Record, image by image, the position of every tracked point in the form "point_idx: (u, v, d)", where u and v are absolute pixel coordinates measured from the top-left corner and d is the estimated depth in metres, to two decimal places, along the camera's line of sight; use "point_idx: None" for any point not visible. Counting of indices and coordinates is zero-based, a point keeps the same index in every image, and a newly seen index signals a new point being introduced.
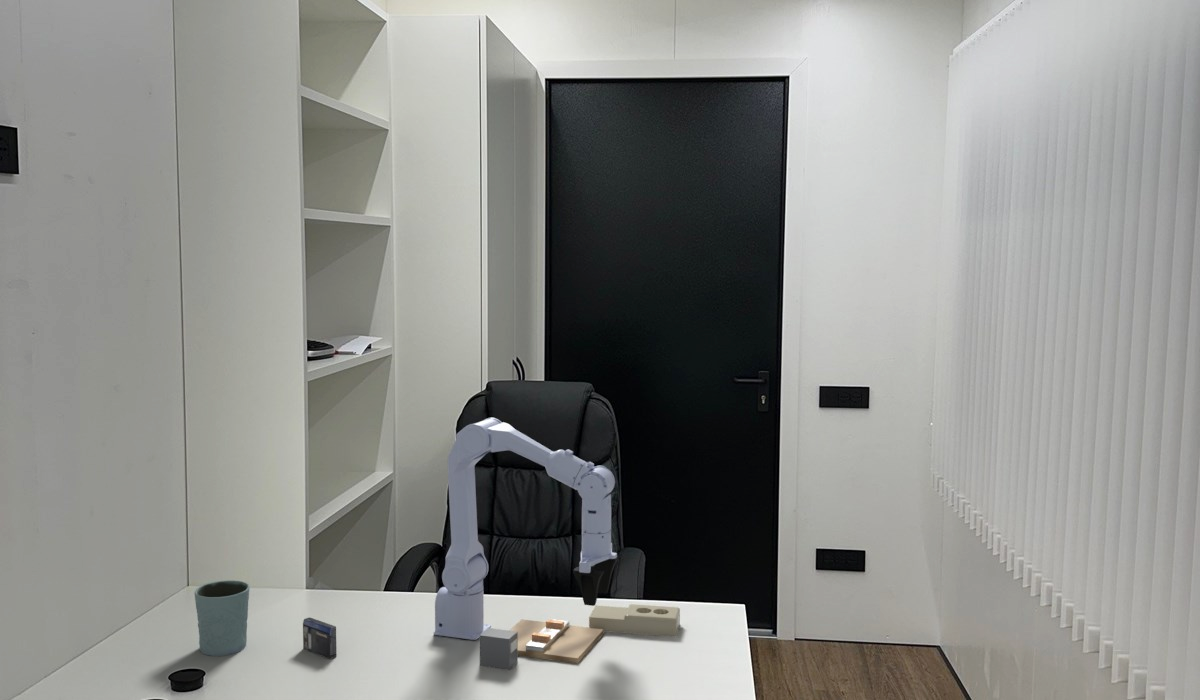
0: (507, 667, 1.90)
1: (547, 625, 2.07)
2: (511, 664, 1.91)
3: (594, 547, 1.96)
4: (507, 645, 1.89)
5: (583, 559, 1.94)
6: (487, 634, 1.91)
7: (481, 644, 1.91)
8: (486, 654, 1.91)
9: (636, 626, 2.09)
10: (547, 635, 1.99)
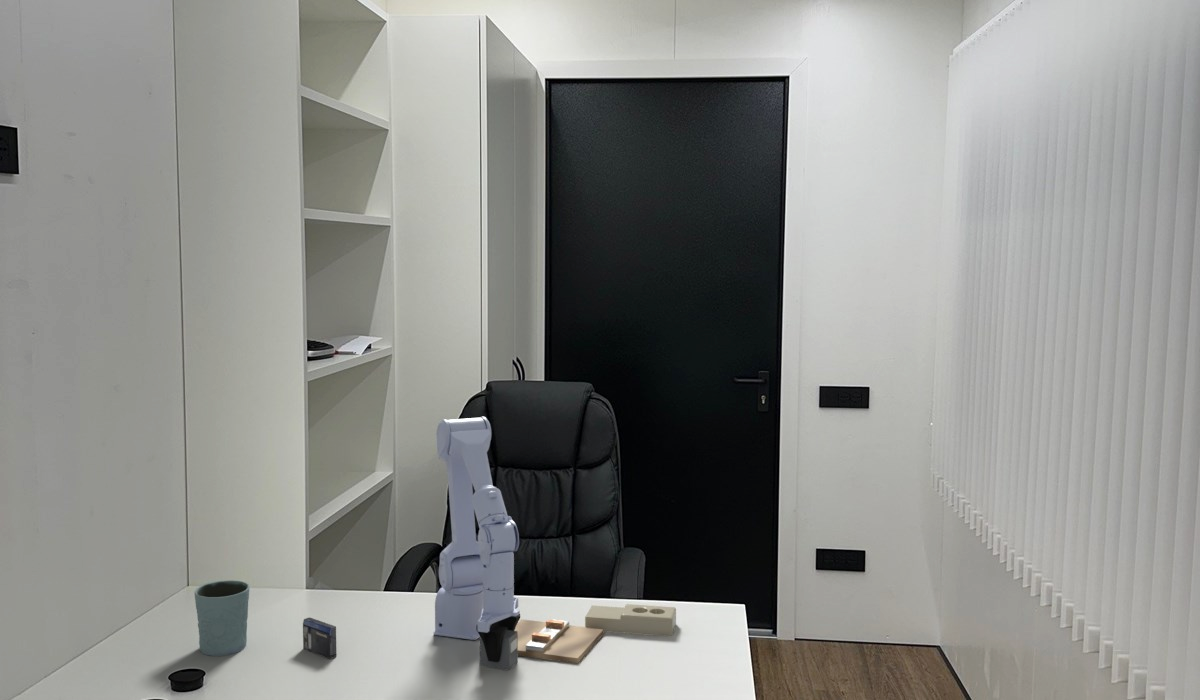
0: (507, 667, 1.90)
1: (547, 625, 2.07)
2: (511, 664, 1.91)
3: (495, 605, 1.89)
4: (507, 645, 1.89)
5: (483, 617, 1.87)
6: None
7: (481, 644, 1.91)
8: None
9: (632, 625, 2.09)
10: (547, 635, 1.99)
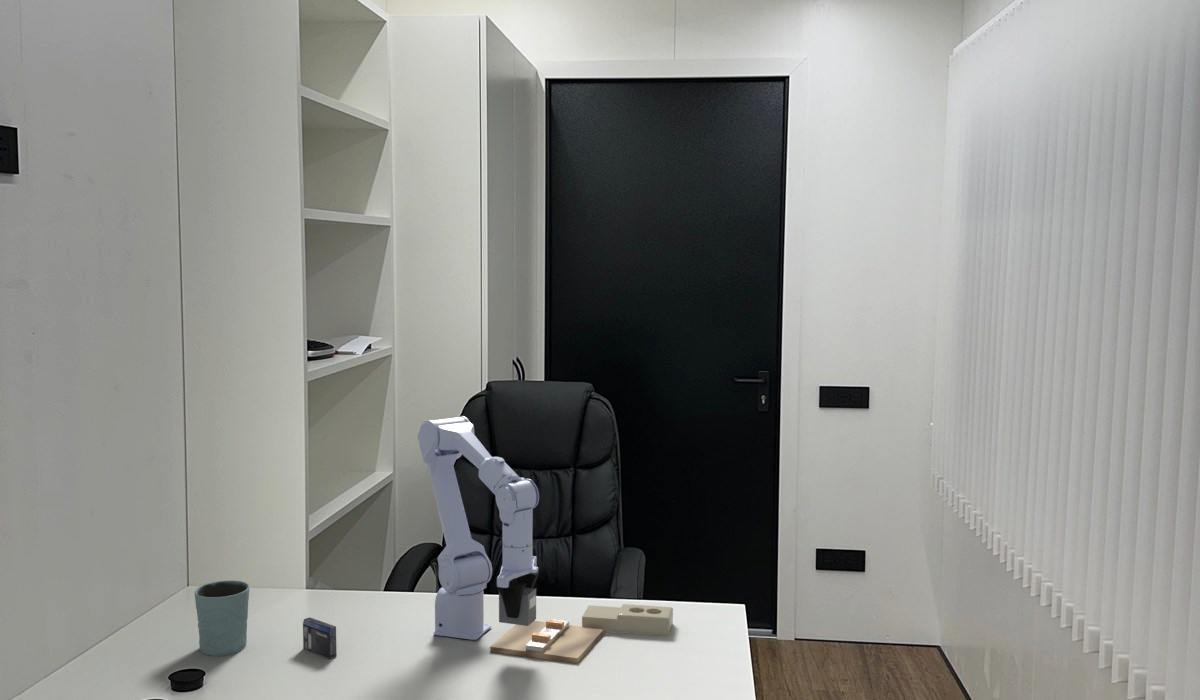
0: (526, 623, 1.93)
1: (547, 625, 2.07)
2: (530, 620, 1.94)
3: (514, 561, 1.92)
4: (526, 601, 1.93)
5: (502, 573, 1.91)
6: None
7: (500, 600, 1.95)
8: (505, 611, 1.94)
9: (629, 625, 2.09)
10: (547, 635, 1.99)
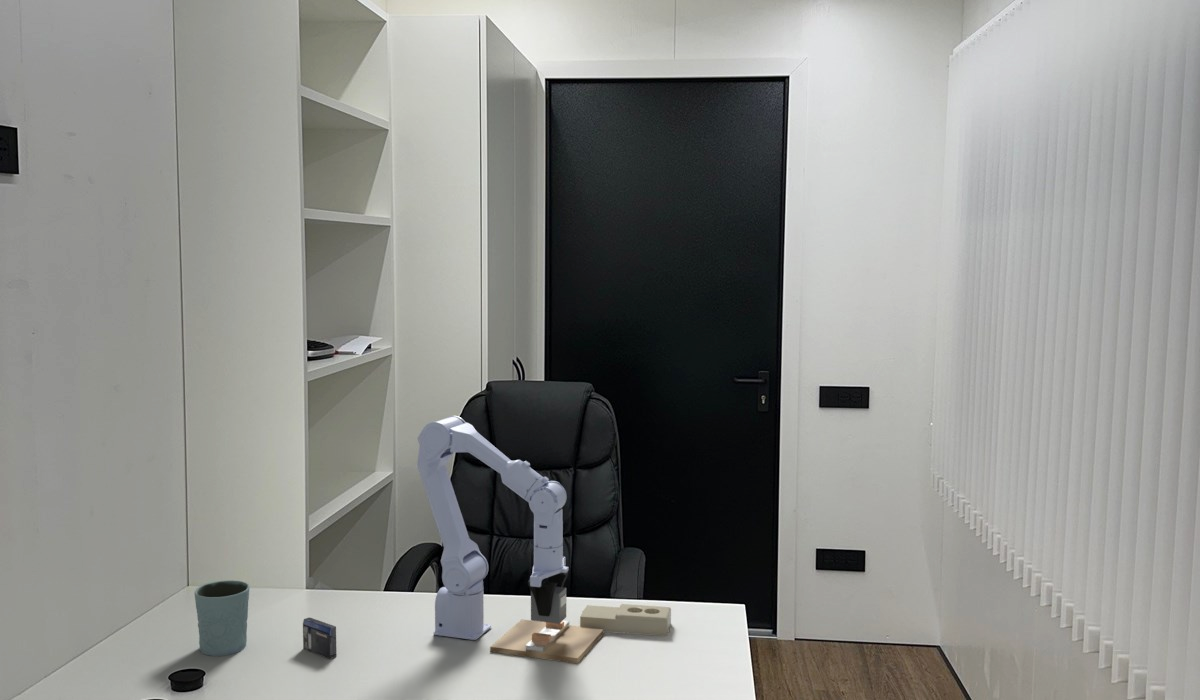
0: (557, 621, 2.00)
1: (547, 625, 2.07)
2: (561, 618, 2.01)
3: (545, 562, 1.99)
4: (557, 600, 2.00)
5: (534, 573, 1.98)
6: None
7: (532, 599, 2.01)
8: None
9: (627, 625, 2.09)
10: (547, 635, 1.99)
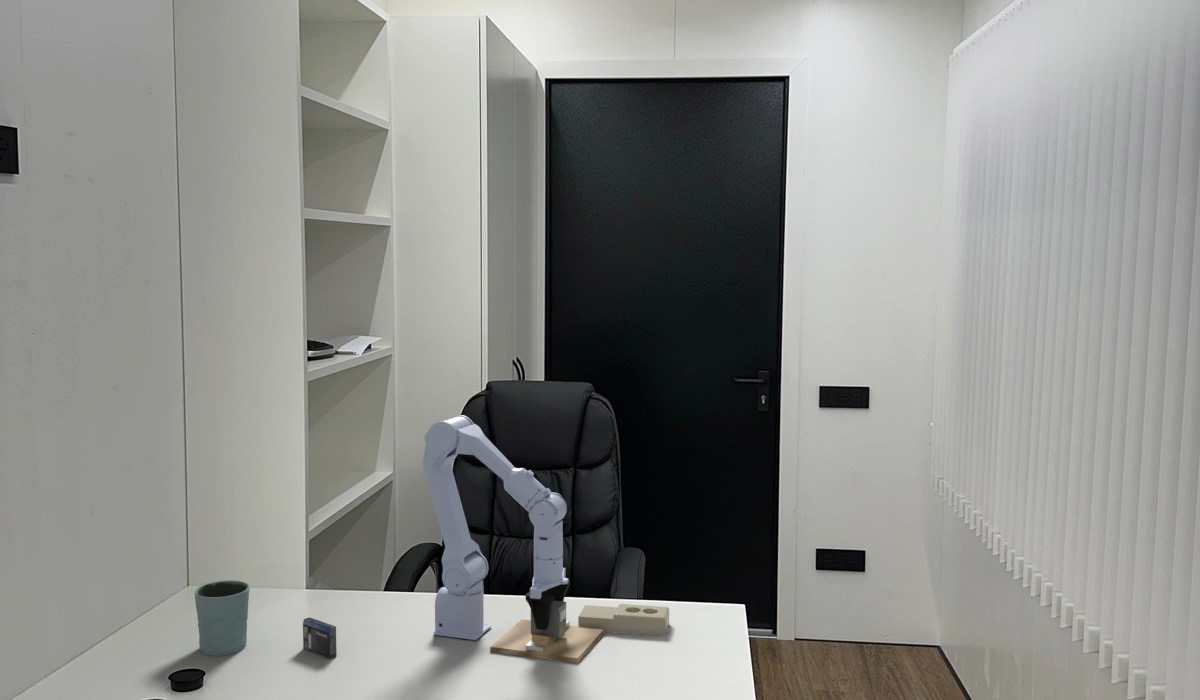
0: (557, 635, 2.00)
1: None
2: (561, 632, 2.01)
3: (545, 573, 1.99)
4: (557, 615, 2.00)
5: (534, 585, 1.98)
6: None
7: (532, 613, 2.02)
8: None
9: (625, 625, 2.09)
10: (547, 635, 1.99)
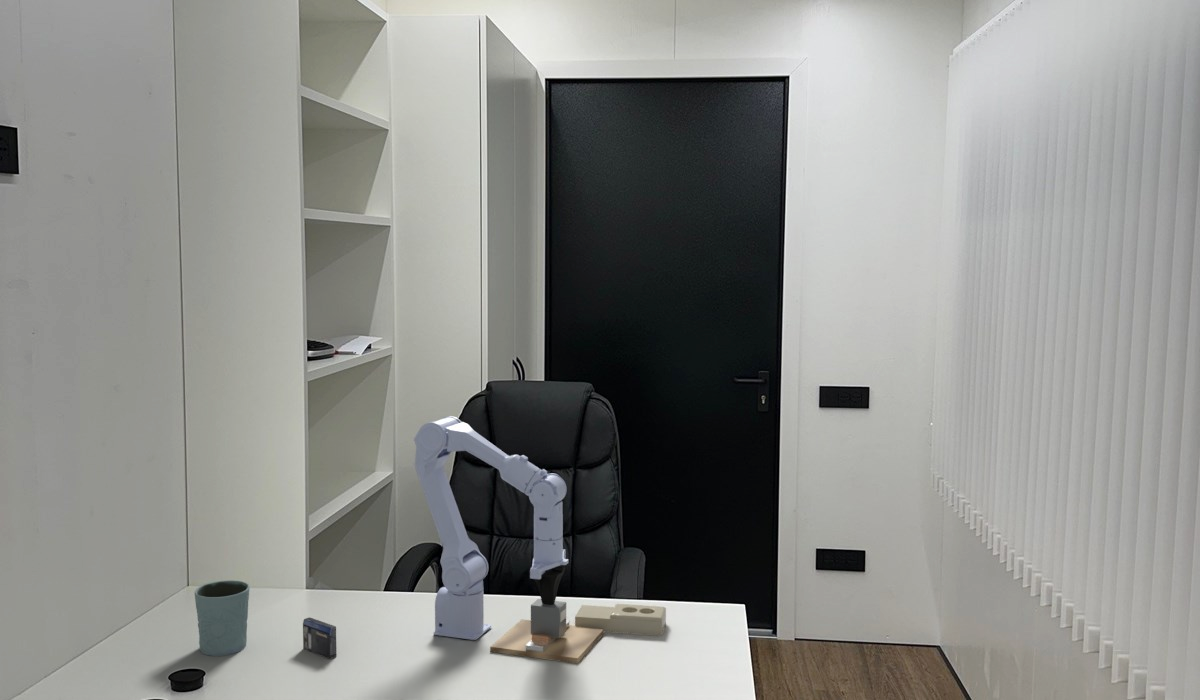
0: (557, 635, 2.00)
1: None
2: (561, 632, 2.01)
3: (546, 554, 1.99)
4: (557, 615, 2.00)
5: (534, 565, 1.98)
6: (538, 604, 2.02)
7: (532, 613, 2.02)
8: (537, 623, 2.02)
9: (622, 625, 2.09)
10: (547, 635, 1.99)
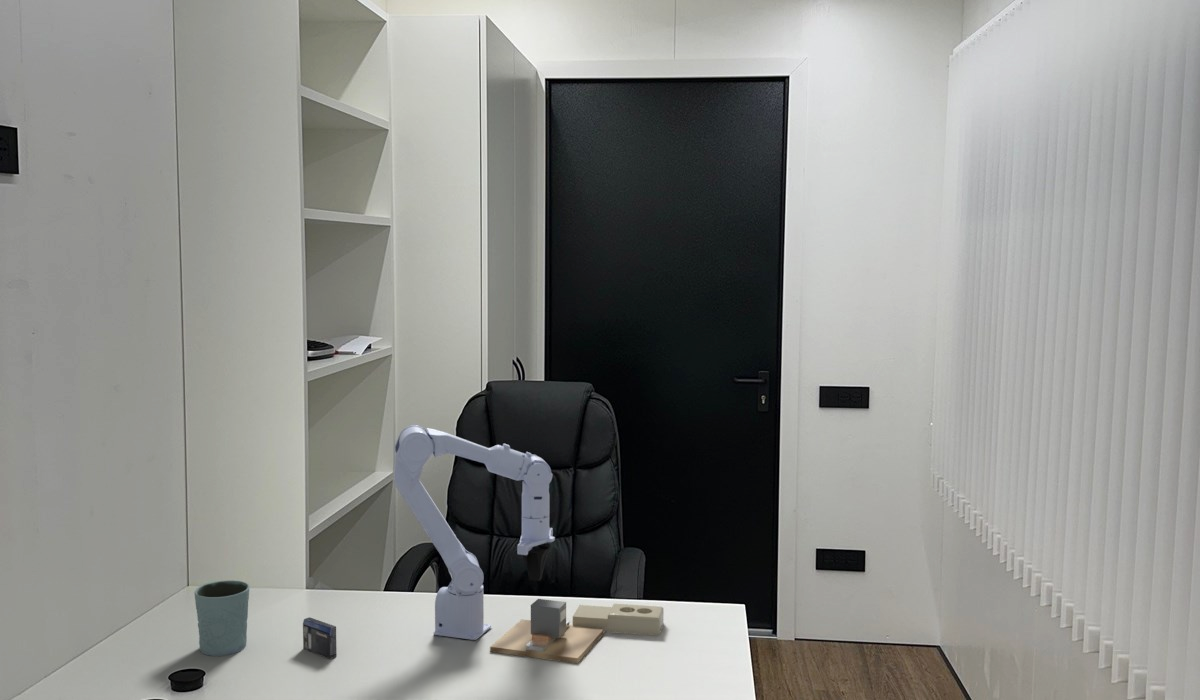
0: (557, 635, 2.00)
1: None
2: (561, 632, 2.01)
3: (533, 531, 2.08)
4: (557, 615, 2.00)
5: (522, 542, 2.07)
6: (538, 604, 2.02)
7: (532, 613, 2.02)
8: (537, 623, 2.02)
9: (619, 625, 2.09)
10: (547, 635, 1.99)
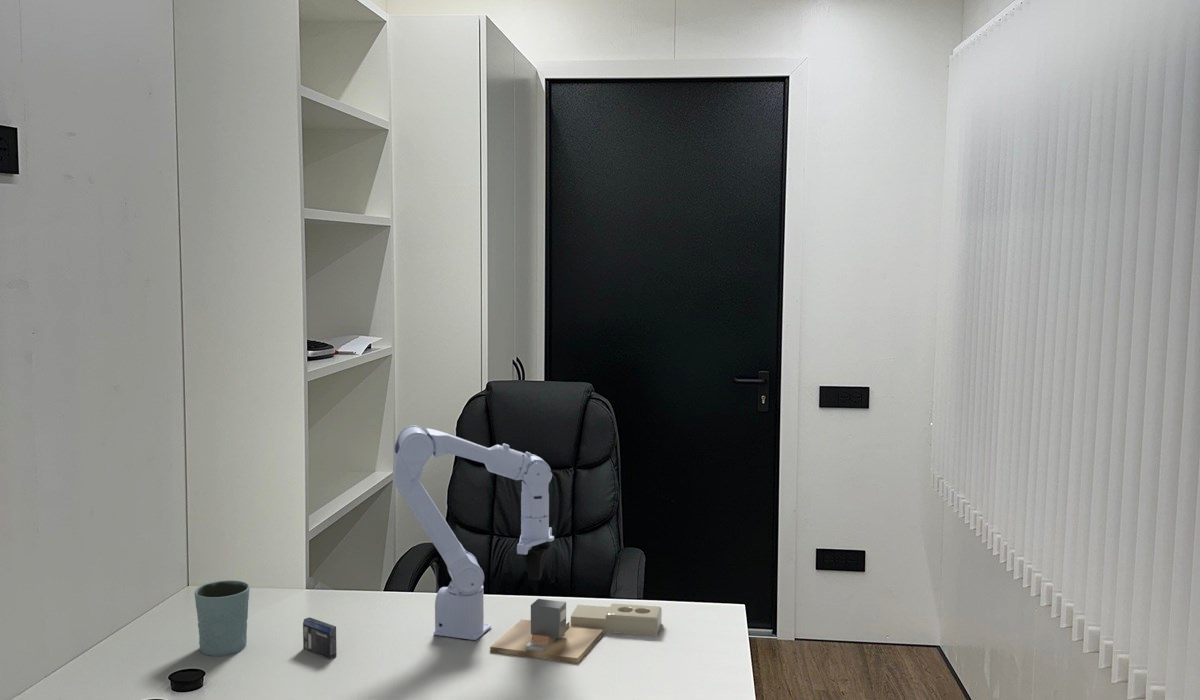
0: (557, 635, 2.00)
1: None
2: (561, 632, 2.01)
3: (532, 531, 2.08)
4: (557, 615, 2.00)
5: (521, 542, 2.07)
6: (538, 604, 2.02)
7: (532, 613, 2.02)
8: (537, 623, 2.02)
9: (617, 625, 2.09)
10: (547, 635, 1.99)
